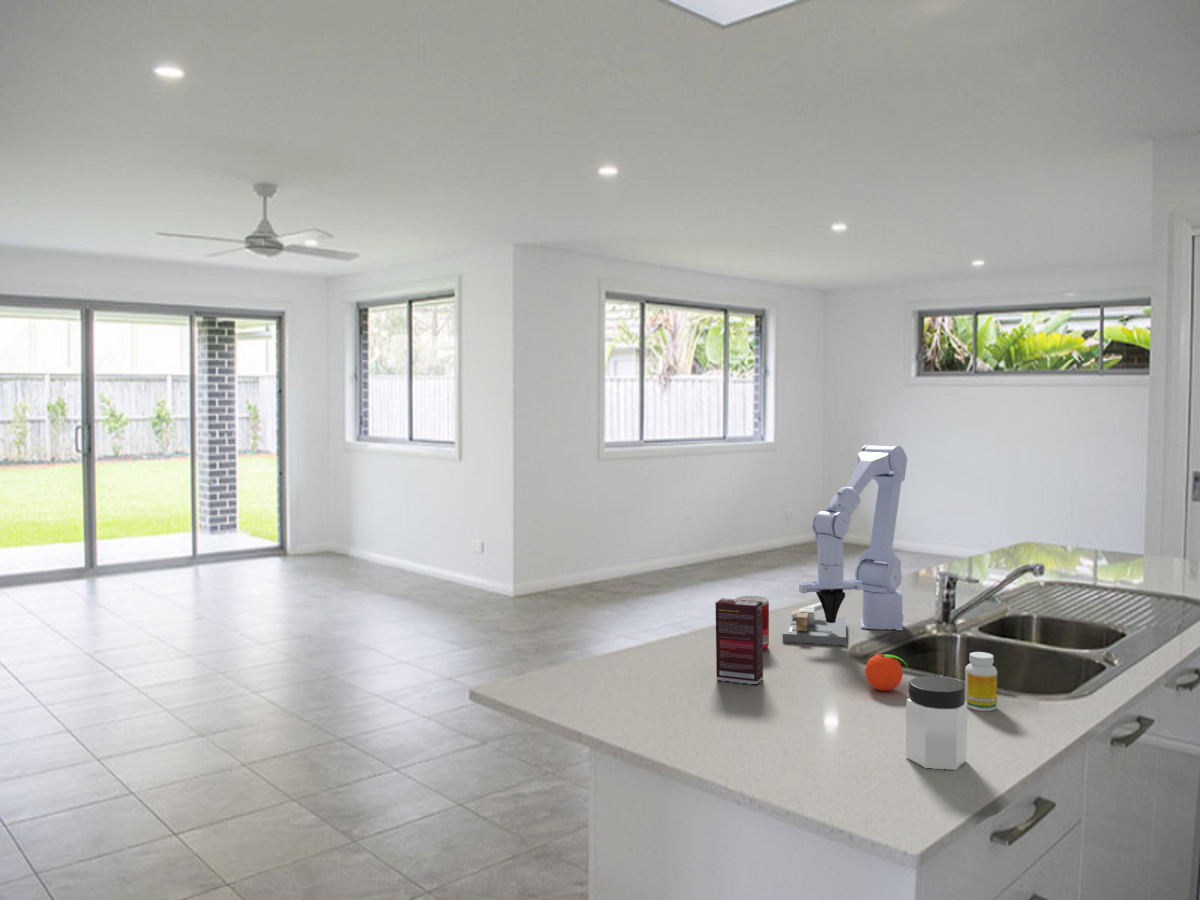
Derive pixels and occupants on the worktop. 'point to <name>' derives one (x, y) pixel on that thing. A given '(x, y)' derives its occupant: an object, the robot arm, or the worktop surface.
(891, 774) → the worktop surface
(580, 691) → the worktop surface
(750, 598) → the canned food
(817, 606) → the block
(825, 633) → the console
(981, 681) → the supplement bottle
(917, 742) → the jar
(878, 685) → the clementine
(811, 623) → the steel slider
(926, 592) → the worktop surface
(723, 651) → the supplement box
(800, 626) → the oak slider
